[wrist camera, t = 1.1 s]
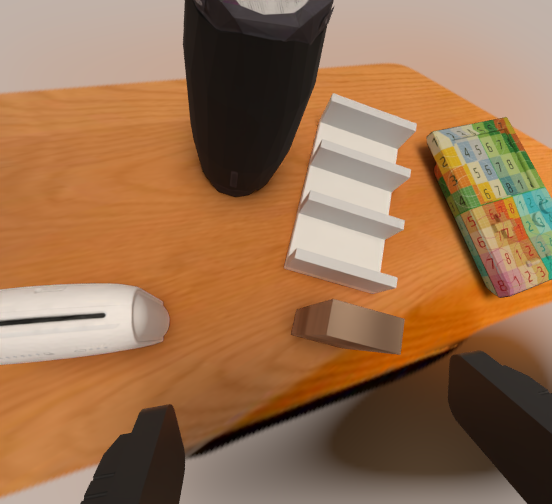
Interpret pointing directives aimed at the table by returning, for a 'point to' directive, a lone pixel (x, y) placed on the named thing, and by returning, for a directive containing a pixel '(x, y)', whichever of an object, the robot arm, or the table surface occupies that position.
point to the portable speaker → (249, 83)
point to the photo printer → (77, 321)
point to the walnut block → (349, 327)
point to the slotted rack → (350, 197)
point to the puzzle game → (496, 203)
